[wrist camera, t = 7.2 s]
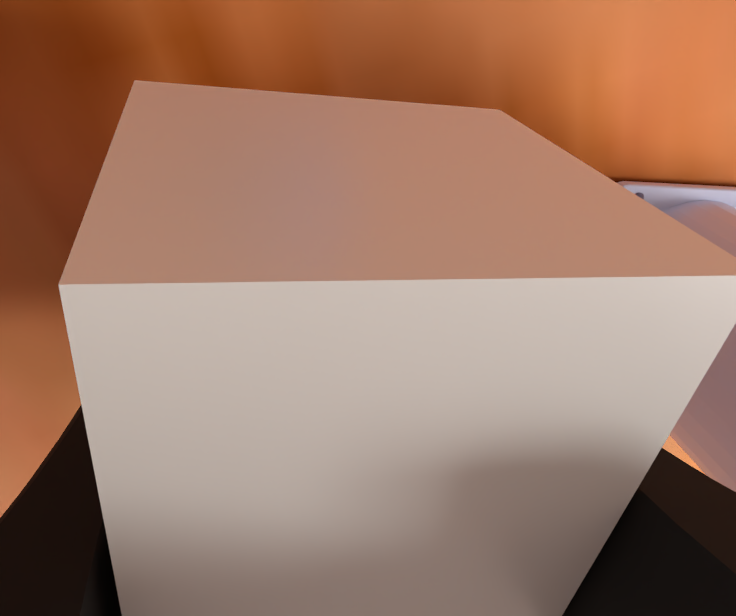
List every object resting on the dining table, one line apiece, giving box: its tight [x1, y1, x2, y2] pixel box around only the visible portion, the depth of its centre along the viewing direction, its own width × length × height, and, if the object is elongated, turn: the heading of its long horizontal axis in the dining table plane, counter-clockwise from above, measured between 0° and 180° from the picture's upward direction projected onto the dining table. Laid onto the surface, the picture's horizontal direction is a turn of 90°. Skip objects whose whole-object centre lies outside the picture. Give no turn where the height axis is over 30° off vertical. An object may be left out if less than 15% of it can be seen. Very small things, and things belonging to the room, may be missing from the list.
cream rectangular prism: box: [58, 80, 736, 616], centre depth 9 cm, size 6×10×5 cm, turn 171°
